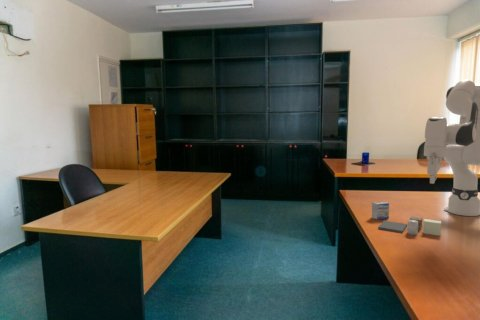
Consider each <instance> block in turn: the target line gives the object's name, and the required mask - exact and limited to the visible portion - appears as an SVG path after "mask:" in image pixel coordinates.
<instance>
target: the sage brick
mask: <svg viewBox="0 0 480 320" xmlns="http://www.w3.org/2000/svg"><path fill="white" fill-rule="evenodd" d="M422 234H425V235H431V236H432V235H433V236H438V237H440V236H441V234H442V220H435V219H428V218H423V220H422Z"/></svg>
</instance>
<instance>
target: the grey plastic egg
mask: <svg viewBox="0 0 480 320" xmlns="http://www.w3.org/2000/svg"><path fill="white" fill-rule="evenodd" d="M406 229H407V231H406V232H407V235H411V236H417V235H418V234H419V233H418V232H419V229H418V221H416V220H410V219H408V220H407V227H406Z"/></svg>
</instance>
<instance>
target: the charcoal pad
mask: <svg viewBox="0 0 480 320" xmlns="http://www.w3.org/2000/svg"><path fill="white" fill-rule="evenodd" d="M407 228H408V223H402V222H396V221H388V220H383V221H382V222H381V223H380V225H378V230H383V231H387V232H388V231H389V232H395V233H400V234H402V233H404V231H405V229H407Z"/></svg>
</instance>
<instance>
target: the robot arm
mask: <svg viewBox="0 0 480 320" xmlns="http://www.w3.org/2000/svg"><path fill="white" fill-rule="evenodd" d="M445 98H446V99H445V106H446V108H447V110H448V111H449V112H450V113H452V114H454V115H457V116H459V123H448V121H447V117H445V116H431V117H429V118H428V119H426V123H425V130H424V140H425V141H424V144H423V145H424V146H423V156H424V157H426V160H428V161H427V168H426V169H427V170H426V171H427V172H426V173H427V175H429V184H432V185H433V184H435V182H436V180H437V175H438V173H439V171H440V169H441V166H442V161H443V160H444V161H445V162H446V163H447V164H448V165H449V166H450V168H451V170H452V173H453V175H452V176H453V187H452V190H451V191H452V192H451V195H450V196H449V197H448V204H447V206H446V207H445V208H444V210H443V211H445V212H449V213H450V214H454V215H459V216H464V217H465V216H466V217H476V216H480V198H479V197H478V195H479V190H478V184H479V183H478V182H479V181H478V180H479V176H478V175H477V173H476V172H474V171H472V169H471V168H470V167H469V165H471V166H472V165H473V166H480V83H474V81H472V80H469V79H463V80H460V81H458V82H457V83H456V84H454V86H451V87H450V88H448V90H447V91H446V94H445Z"/></svg>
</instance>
